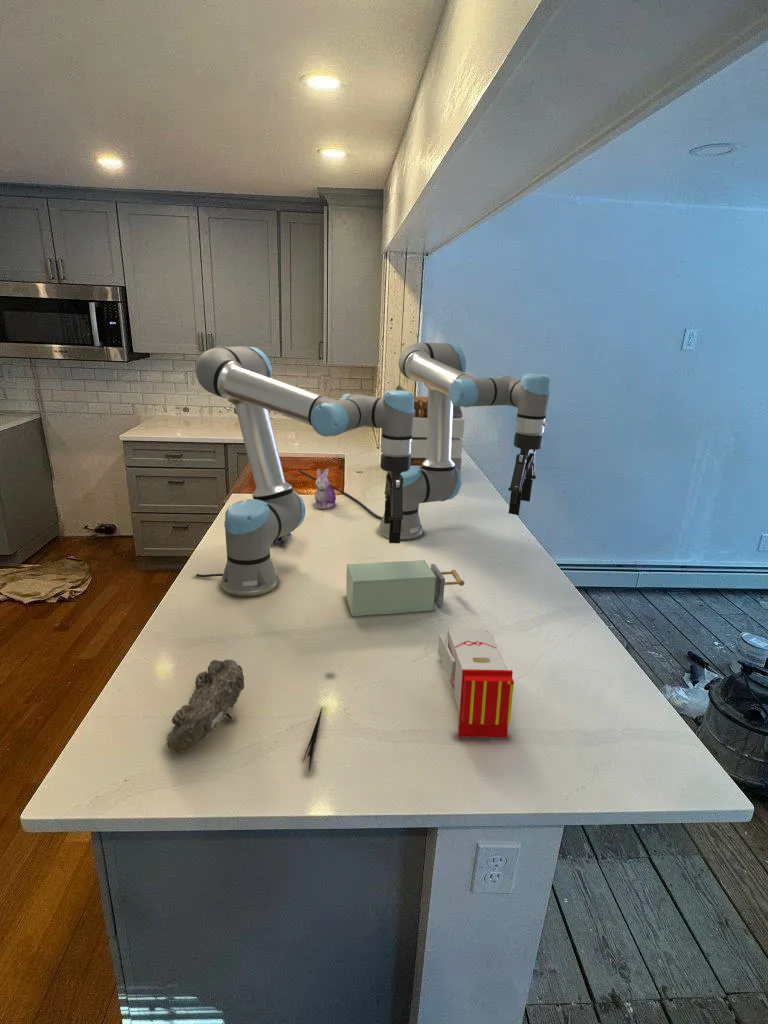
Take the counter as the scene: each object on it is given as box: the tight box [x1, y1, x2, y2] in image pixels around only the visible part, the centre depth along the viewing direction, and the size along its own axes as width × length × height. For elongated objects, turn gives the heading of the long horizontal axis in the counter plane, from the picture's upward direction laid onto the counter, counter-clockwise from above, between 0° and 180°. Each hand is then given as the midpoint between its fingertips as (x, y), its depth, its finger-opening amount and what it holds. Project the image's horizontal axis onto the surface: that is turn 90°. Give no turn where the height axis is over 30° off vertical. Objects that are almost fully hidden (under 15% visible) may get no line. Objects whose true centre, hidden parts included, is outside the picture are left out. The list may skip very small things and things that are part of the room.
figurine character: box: [272, 532, 292, 546], centre depth 189 cm, size 7×8×15 cm
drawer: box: [430, 563, 465, 606], centre depth 152 cm, size 26×9×8 cm, turn 102°
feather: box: [301, 673, 332, 771], centre depth 108 cm, size 2×28×2 cm
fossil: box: [166, 658, 245, 754], centre depth 106 cm, size 22×10×15 cm
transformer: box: [395, 384, 465, 476], centre depth 268 cm, size 34×33×41 cm
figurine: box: [314, 467, 337, 510], centre depth 222 cm, size 9×10×15 cm
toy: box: [437, 628, 515, 738], centre depth 117 cm, size 12×13×30 cm
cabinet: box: [345, 559, 436, 617], centre depth 151 cm, size 22×10×10 cm, turn 102°
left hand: (391, 532), depth 149 cm, fingers open, 13 cm apart
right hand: (519, 507), depth 160 cm, fingers open, 13 cm apart
